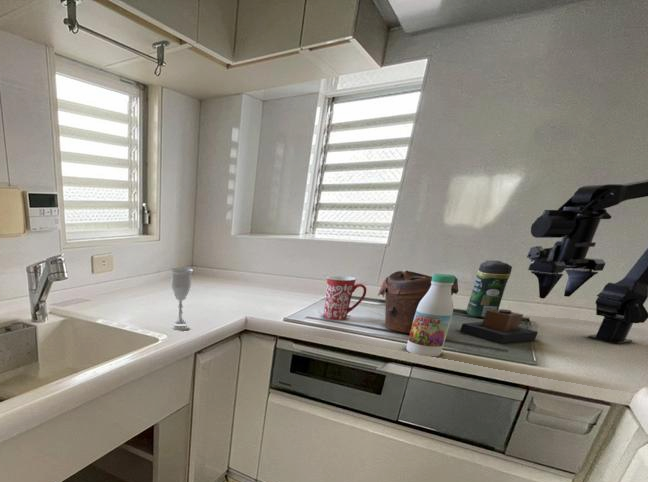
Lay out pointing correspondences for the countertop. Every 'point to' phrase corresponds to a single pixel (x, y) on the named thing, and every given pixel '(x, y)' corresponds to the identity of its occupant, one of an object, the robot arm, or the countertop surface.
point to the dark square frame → (498, 333)
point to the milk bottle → (432, 318)
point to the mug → (340, 296)
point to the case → (405, 297)
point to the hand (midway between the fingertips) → (554, 297)
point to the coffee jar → (488, 288)
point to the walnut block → (502, 320)
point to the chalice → (181, 290)
